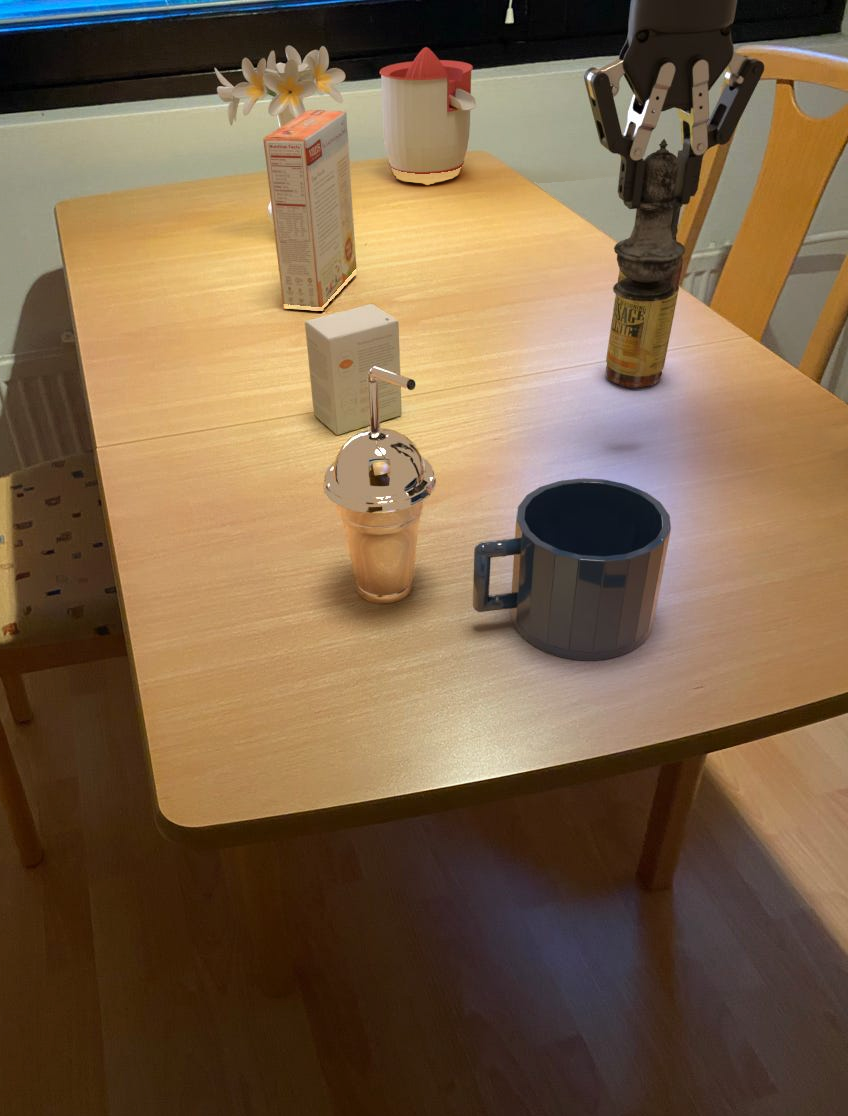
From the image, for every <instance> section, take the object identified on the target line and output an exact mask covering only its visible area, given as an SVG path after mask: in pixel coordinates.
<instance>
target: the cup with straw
mask: <svg viewBox="0 0 848 1116" xmlns="http://www.w3.org/2000/svg"><path fill="white" fill-rule="evenodd" d="M378 378H380V379H382V380H385V381H387V382H390V383H393V384H395V385H398V386H401V388H403V389H406V390H408V391H413V390H414V389H415V388H416V381H415V380H414V379H412V378H409V377H407V376H403V375H401V374H400V375H399V374H396V373H393V372H390V371H388V370H385V369H382V368H379V367H376V366H375V367H372V368H371V369H370V370H369V373H368V392H369V411H370V425H369V426H370V427H369V428H368V429H366V430H362V431H360V432H358V433H356V434H355V435H353V436H351V437H349V439H347V440H346V441H345V442H344V444H342V446H341V447H340V448H339V451H338V453H337V455H336V457H335V459H334V461H333V462H332V463H331V464H330V465H329V466H328V468H327V469H326V472H325V473H324V478H323V479H324V480H323V484H322V487H323V491H324V494H325V496H326V498H327V499H329V501H331V502H332V503H333V504H335V505H336V510H337V511H338V514H339V517H340V520H341V522H342V524H343V529H344V533H345V538H346V544H347V548H348V553H349V559H350V563H351V568H352V573H353V577H354V581H355V583H356V591H357V593H358V595H359V597H361V598H362V599H364V600H365V601H368V602H371V603H374V604H391V603H395V602H399V601H401V600H403V599H405V598H406V597H407V596H408V595H410V593H411V591H412V589H413V583H412V581H413V578H414V572H415V563H416V556H417V545H418V538H419V537H418V536H419V529H420V520H421V517H422V515H423V509H424V506H425V502H426V500H427V499H428V498H429V497H430V496H431V495H432V493H434V491H435V488H436V486H437V478H436V475H435V470H434V468H433V465H431V463H430V462H429V461H428V460H427V459H426V458H425V457H423V456H422V454H421V452H420V450H419V448H418V446H417V445H416V444H415V443H414V441H412V440H411V439H410V438H409V437H407V436H406V435H405V434H403V433H401V432H400V431H396V430H394V429H391V428H384V427H383V428H382V427H381V424H380V423H381V422H380V420H379V398H378Z"/></svg>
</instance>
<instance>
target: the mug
mask: <svg viewBox="0 0 848 1116" xmlns="http://www.w3.org/2000/svg"><path fill="white" fill-rule="evenodd" d="M516 509H517V510H516V517H515V532H514V538H503V539H496V540H495V539H494V540H488V541H480V542H478V543H477V544H475V546H474V550H473V578H472V579H473V581H472V582H473V584H472V587H473V588H472V607H473V609H474V611H476V612H477V613H487V612H493V611H502V610H510V618H511V622H512V624H513V626H514V628H515V630H516V631H517V633H518V634H519V635H520V636H521V637H522V638H523V639H524V640H525V641H527V642H528V643H529V644H530V645H532V646H533V647H535V648H537V649H539V650H541V651H543V652H545V653H547V654H550V655H553V656H555V657H556V656H557V657H560V658H564V659H570V660H576V661H603V660H610V659H614V658H618V657H620V656H623V655H626V654H629V653H630V652H632V651H634V650H636V649H637V648H639V646H641V645H642V644H643V643H644V642H645V641H646V640H647V639H648V637H649V635H650V634H651V631H652V629H653V628H652V627H653V623H654V620H655V617H656V611H657V606H658V601H659V595H660V590H661V585H662V581H663V580H662V579H663V574H664V569H665V563H666V557H667V552H668V547H669V541H670V536H671V532H672V531H671V530H672V526H671V516H670V514H669V513H668V511H667V509H666V508H665V507H664V505H663V504H662V502H660V501H659V500H658V499H657V498H655V497H654V496H653V495H651V494H649V493H648V492H646V491H644V490H642V489H640V488H636V487H634V486H632V485H629V484H627V483H623V482H618V481H614V480H609V479H604V478H603V479H602V478H585V477H584V478H583V477H582V478H581V477H580V478H573V479H564V480H563V479H562V480H558V481H554V482H551V483H548V484H545V485H541V486H539V487H538V488H536V489H534V490H533V491H531V492H529V493H528V494H526V495H525V497H524V498H523V499H522V501H520V503H519V505H517V508H516ZM511 556H513V563H512V578H511V579H512V582H511V592H504V593H496V594H490V584H491V583H490V581H491V560H492V559H493V558H501V557H511Z"/></svg>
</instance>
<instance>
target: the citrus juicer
mask: <svg viewBox="0 0 848 1116" xmlns="http://www.w3.org/2000/svg"><path fill="white" fill-rule="evenodd" d="M473 70H474V67H473V65H472V64H470V63H467V62H464V61H458V60H448V59H446V60H445V59H439V58H438V57H437V55H436V54H435V53H434V52H433V51H432V50H431V48H429V47H427V46H425V47H423V48H422V49H421V50H420V51H419V52H418V54H417V55H416V57H415V58H414V59H413V61H404V62H398V63H393V64H389V65H386V66H385V67H382V68H381V69H380V70H379V75H380V79H381V81H380V82H381V109H382V112H381V113H382V133H383V142H384V148H385V153H386V156H387V159H388V162H389V167H391V168H393V169H395V170H398V171H401V172H407V173H415V174H430V173H441V172H448V171H453V170H456V169H458V168H460V167H462V168H463V166H464V164H465V158H466V154H467V151H468V146H469V140H470V132H471V131H470V130H471V110H474V109H475V108H476V105H477V103H476V98H475V96H474V95H473V94H472V71H473ZM462 165H463V166H462ZM391 168H390V169H391Z"/></svg>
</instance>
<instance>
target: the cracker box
mask: <svg viewBox="0 0 848 1116" xmlns="http://www.w3.org/2000/svg"><path fill="white" fill-rule="evenodd" d="M347 115H348V114H347V111H344V110H324V109H309V110H305V112H304V113H303V114H301V115H300V116H298V117H296V118H295V119H293V120H292V121H290V122H289V123H287V124H286V125H284V126H282V127H281V128H280V127H279V128H278V129H276V130H274V131H273V132H271V133H269V134H268V135H266V136H264V138H262V139H263V148H264V156H265V166H266V172H267V181H268V189H269V198H270V201H271V207H272V216H273V224H274V226H273V231H274V241H275V249H276V258H277V265H278V272H279V282H280V283H279V284H280V290H281V301H282V305H283V304H288V305H289V304H290V305H300V306H311V307H322V306H323V305H324V304H325V303H326V302H327V301H328V299H330V297H331V296H332V295H333V294H334V293H335V292H336V291H337V289H338V288H339V287H340V286H341V285H342V284H343V283H344V282H345V280H346V279H347V278H348V277H349V276H350V275H351V274H352V272H353V271H354V270H355V269H357V257H356V239H355V225H354V224H355V223H354V208H353V193H352V180H351V162H350V149H349V147H350V145H349V132H348V131H349V130H348V121H347V120H348V117H347ZM273 224H272V225H273Z"/></svg>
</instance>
